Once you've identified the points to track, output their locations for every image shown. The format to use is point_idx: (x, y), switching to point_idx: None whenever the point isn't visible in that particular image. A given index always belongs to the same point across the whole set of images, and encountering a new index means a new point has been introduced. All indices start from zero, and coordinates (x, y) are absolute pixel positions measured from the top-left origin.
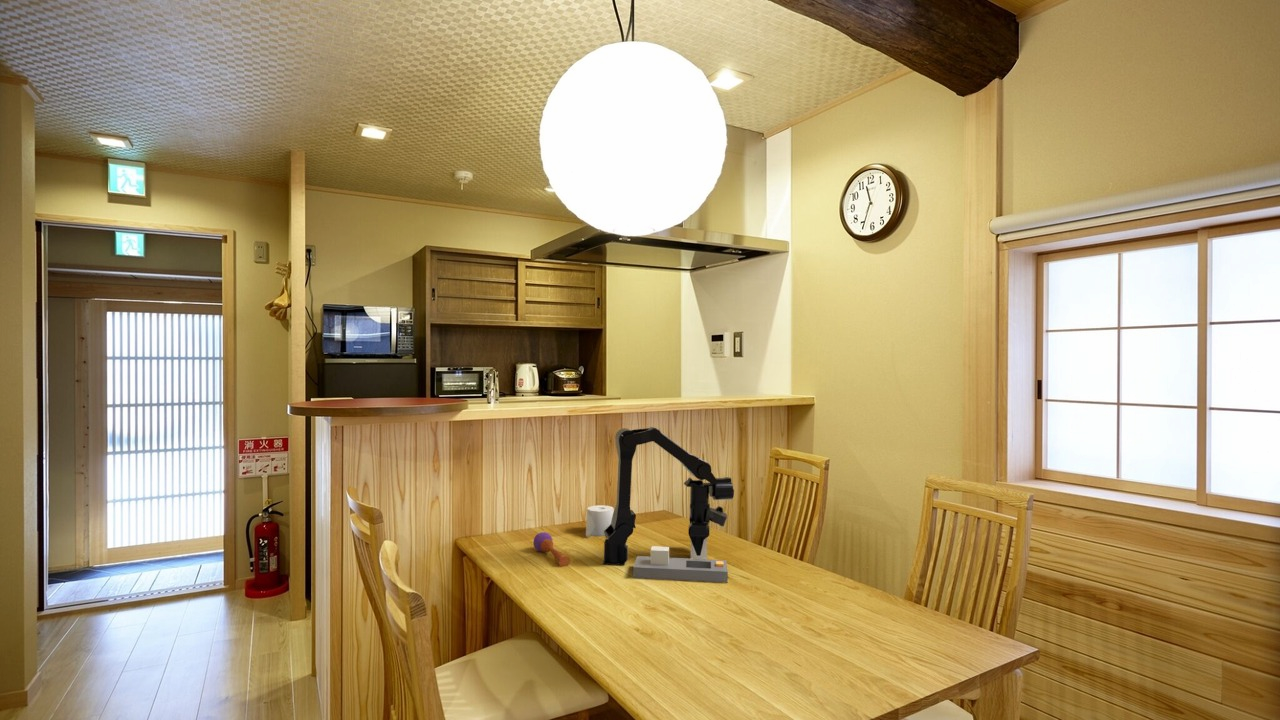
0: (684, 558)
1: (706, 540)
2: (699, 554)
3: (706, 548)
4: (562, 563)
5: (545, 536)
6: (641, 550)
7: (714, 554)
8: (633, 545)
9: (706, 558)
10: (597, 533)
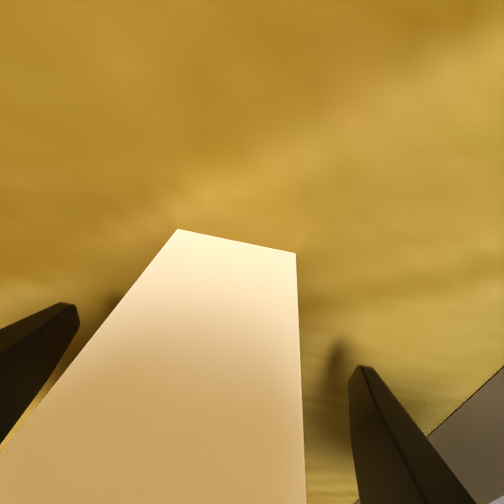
0: (500, 501)
1: (301, 479)
2: (374, 381)
3: (296, 343)
4: None
5: None
6: None
7: (111, 141)
8: None
9: (294, 265)
10: None
